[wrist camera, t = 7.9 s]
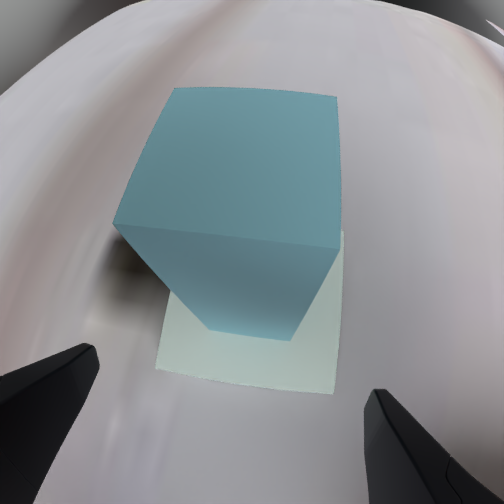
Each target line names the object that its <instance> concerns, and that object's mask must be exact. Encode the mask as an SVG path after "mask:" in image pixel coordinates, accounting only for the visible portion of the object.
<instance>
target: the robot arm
mask: <svg viewBox="0 0 504 504" xmlns="http://www.w3.org/2000/svg"><path fill="white" fill-rule="evenodd" d="M99 367H100V364H99V360H98V356H97V352H96V349H95V347H94V346H93V345H90V344H87V343H82V344H79V345H77V346H74V347H72V348H70V349H67V350H65V351H62V352H60V353H57V354H55V355H52V356H50V357H47V358H45V359H42V360H40V361H37V362H35V363H32V364H30V365H27V366H25V367H22V368H20V369H17V370H15V371H12V372H10V373H7V374H4V375H3V376H0V504H33V502H34V500H35V498H36V496H37V493H38V491H39V489H40V487H41V485H42V483H43V481H44V479H45V477H46V475H47V473H48V471H49V469H50V467H51V465H52V463H53V461H54V459H55V457H56V455H57V453H58V451H59V449H60V447H61V445H62V443H63V442H64V440H65V438H66V436H67V434H68V432H69V430H70V429H71V427H72V425H73V423H74V421H75V419H76V418H77V416H78V414H79V412H80V411H81V409H82V407H83V405H84V403H85V401H86V399H87V396H88V394H89V392H90V389H91V387H92V385H93V382H94V380H95V378H96V376H97V373H98V371H99ZM364 454H365V464H366V473H367V482H368V492H369V504H504V501H503V500H501V499H500V498H499V497H497V496H496V495H495V494H493V493H492V492H491V491H490V490H488V489H487V488H486V487H485V486H483V485H482V484H481V483H480V482H478V481H477V480H476V479H475V478H474V477H473V476H471V475H470V474H469V473H468V472H467V471H466V470H465V469H464V468H463V467H462V466H461V465H460V464H459V463H458V462H457V461H456V460H455V459H454V458H453V457H450V454H449V453H448V452H447V451H446V450H445V449H444V448H443V447H442V446H441V445H440V444H439V443H438V442H437V441H436V440H435V439H434V438H433V437H432V436H431V435H430V434H429V433H428V432H427V431H426V430H425V429H424V428H423V427H422V426H421V424H420V423H419V422H418V421H417V420H416V419H415V418H414V417H413V416H412V415H411V414H410V413H409V412H408V411H407V410H406V409H405V408H404V407H403V406H402V405H401V404H400V403H399V402H398V401H397V400H396V399H395V398H394V397H393V396H392V395H391V394H390V393H389V392H388V391H387V390H386V389H373V390H372V392H371V394H370V396H369V398H368V401H367V403H366V405H365V408H364Z"/></svg>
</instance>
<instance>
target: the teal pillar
mask: <svg viewBox="0 0 504 504" xmlns="http://www.w3.org/2000/svg"><path fill="white" fill-rule="evenodd" d="M112 224H113V225H114V226H115V227H116V229H117V230H118V231H119V232H120V233H121V235H122V236H123V237H124V238H125V239H126V240H127V242H128V243H129V244H130V245H131V246H132V247H133V249H134V250H135V251H136V252H137V253H138V254H139V255H140V257H141V258H142V259H143V260H144V261H145V262H146V263H147V265H148V266H149V267H150V268H151V269H152V270H153V271H154V272H155V273H156V275H157V276H158V277H159V278H160V279H161V280H162V281H163V282H164V283H165V284H166V285H167V287H168V288H169V289H170V290H171V291H172V292H173V293H174V294H175V295H176V296H177V297H178V298H179V299H180V300H181V301H182V303H183V304H184V305H185V306H186V307H187V308H188V309H189V310H190V311H191V312H192V313H193V314H194V315H195V316H196V317H197V318H198V319H199V320H200V321H201V322H202V323H203V324H204V325H205V326H206V327H207V328H208V329H209V330H212V331H218V332H225V333H231V334H238V335H245V336H252V337H259V338H267V339H274V340H283V341H290V340H291V339H292V337H293V335H294V334H295V332H296V330H297V328H298V327H299V325H300V323H301V321H302V320H303V318H304V316H305V314H306V313H307V311H308V309H309V307H310V305H311V304H312V302H313V300H314V298H315V296H316V295H317V293H318V291H319V289H320V287H321V285H322V283H323V282H324V280H325V278H326V276H327V274H328V272H329V270H330V268H331V266H332V265H333V263H334V261H335V259H336V257H337V255H338V253H339V251H340V244H341V167H340V140H339V121H338V106H337V97H334V96H327V95H320V94H312V93H304V92H294V91H284V90H271V89H256V88H230V87H193V88H174V90H173V92H172V94H171V96H170V97H169V99H168V101H167V103H166V105H165V107H164V109H163V110H162V112H161V114H160V116H159V118H158V120H157V122H156V124H155V126H154V128H153V130H152V132H151V134H150V136H149V138H148V140H147V142H146V145H145V147H144V149H143V151H142V153H141V155H140V157H139V160H138V162H137V164H136V166H135V169H134V171H133V173H132V176H131V178H130V180H129V183H128V185H127V187H126V190H125V192H124V195H123V197H122V200H121V202H120V205H119V207H118V210H117V213H116V215H115V218H114V221H113V223H112Z"/></svg>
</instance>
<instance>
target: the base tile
mask: <svg viewBox="0 0 504 504" xmlns="http://www.w3.org/2000/svg"><path fill="white" fill-rule="evenodd" d="M343 259H344V230H341V244H340V251H339V253H338V255H337V257H336V259H335V261H334V263H333V265H332V266H331V268H330V270H329V272H328V274H327V276H326V278H325V280H324V282H323V283H322V285H321V287H320V289H319V291H318V293H317V295H316V296H315V298H314V300H313V302H312V304H311V305H310V307H309V309H308V311H307V313H306V314H305V316H304V318H303V320H302V321H301V323H300V325H299V327H298V328H297V330H296V332H295V334H294V335H293V337H292V339H291V340H290V341H283V340H274V339H267V338H259V337H252V336H245V335H238V334H231V333H225V332H218V331H212V330H209V329H208V328H207V327H206V326H205V325H204V324H203V323H202V322H201V321H200V320H199V319H198V318H197V317H196V316H195V315H194V314H193V313H192V312H191V311H190V310H189V309H188V308H187V307H186V306H185V305H184V304H183V303H182V301H181V300H180V299H179V298H178V297H177V296H176V295H175V294H174V293H173V292H172V291H170V295H169V300H168V304H167V309H166V314H165V318H164V323H163V328H162V333H161V338H160V343H159V348H158V353H157V359H156V364H155V369H160V370H164V371H168V372H173V373H178V374H182V375H187V376H192V377H197V378H202V379H208V380H213V381H219V382H225V383H231V384H238V385H245V386H252V387H259V388H267V389H276V390H286V391H296V392H308V393H322V394H334V388H335V379H336V370H337V360H338V349H339V337H340V324H341V308H342V289H343Z"/></svg>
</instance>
